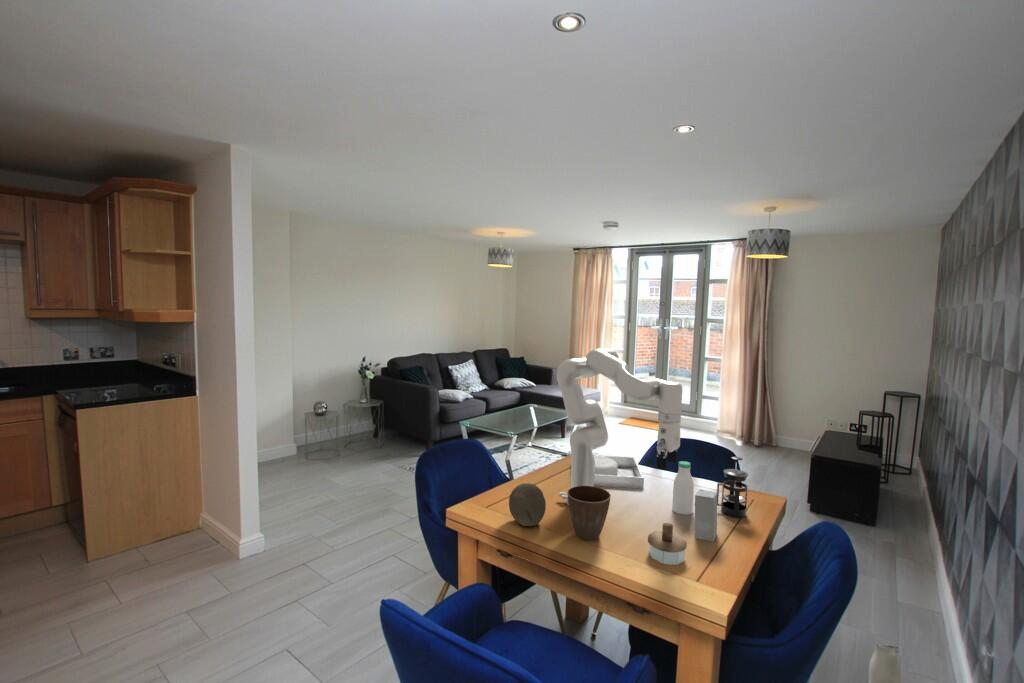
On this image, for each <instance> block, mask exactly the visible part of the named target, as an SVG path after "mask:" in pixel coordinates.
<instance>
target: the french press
mask: <svg viewBox="0 0 1024 683" xmlns="http://www.w3.org/2000/svg"><path fill="white" fill-rule="evenodd" d="M730 459H732V460H734V463H735V468H727V469H724V470H723V474H724V475H723V476H724V478H725V479H727V480H724V481H723V482H717V485H716V486H717V487H716V492H717V507H721V509H720V513H721V514H723V516H726V517H729V518H733V519H745V518H746V517H747V503H748V485H747V484H746V483H743V482H745V481H746V479H747V477H749V473H748V472H746V471H744V470H740V469H737V466H738V465H737V464H738V463H739V462H738V461H742V460H743V458H742V457H739V456H731V457H730ZM720 486H722V491H721V503H719V497H720V496H719V493H720ZM737 486H740V487H742V488H737ZM725 490H727V491H729V494H724V493H725ZM744 492H745V495H744V497H743V496H741V494H740V493H744Z"/></svg>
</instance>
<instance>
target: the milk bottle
mask: <svg viewBox="0 0 1024 683" xmlns="http://www.w3.org/2000/svg"><path fill="white" fill-rule="evenodd" d="M691 465H692V464H691V462H690V461H689V462H688V461H683V460H682V461H678V471H677V473H676V475H675V476H674V480H673V488H672V489H673V490H672V504H671V505H672V511H673V512H674V513H675V514H679V515H684V516H685V515H691V514H692V513H693V511H694V510H693V509H694V494H695V493H694V492H695V491H694V490H695V489H694V488H695V484H694V479H693V477H692V475H691V469H692V468H691Z"/></svg>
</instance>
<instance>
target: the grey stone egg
mask: <svg viewBox="0 0 1024 683" xmlns="http://www.w3.org/2000/svg"><path fill="white" fill-rule="evenodd" d="M508 507H509V512H510V514H511V516H512V518H513V519H514V520H515V521H516V522H517V523H518V524H519V525H521V526H522V527H525V526H529V527H534V526H537V525H538V524H540V523H541V521H542V520H543V518H544V516H545V513H546V507H547V504H546V498H545V496H544V494H543V491H542V489H541V488H539V486H537V485H536V484H534V483H528V482H525V483H520V484H518V485H516V486H515V487H514V488H513V490H512V491H511V493H510V495H509V498H508Z"/></svg>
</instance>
